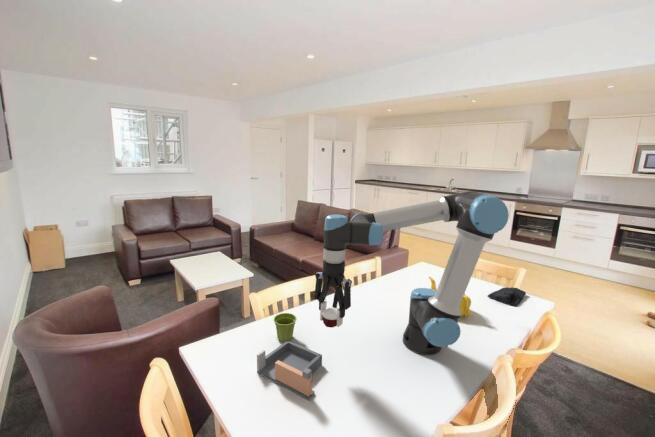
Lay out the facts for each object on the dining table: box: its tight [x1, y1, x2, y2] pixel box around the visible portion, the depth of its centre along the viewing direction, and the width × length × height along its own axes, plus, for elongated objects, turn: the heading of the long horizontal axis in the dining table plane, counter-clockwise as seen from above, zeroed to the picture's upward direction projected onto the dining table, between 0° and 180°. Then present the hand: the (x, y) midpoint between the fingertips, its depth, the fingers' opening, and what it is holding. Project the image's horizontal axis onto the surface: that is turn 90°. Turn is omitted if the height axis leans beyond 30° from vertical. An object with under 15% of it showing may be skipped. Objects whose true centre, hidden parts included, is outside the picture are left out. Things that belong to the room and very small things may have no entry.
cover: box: [275, 360, 313, 397], centre depth 100 cm, size 14×2×8 cm, turn 57°
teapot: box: [428, 276, 472, 318], centre depth 156 cm, size 25×18×14 cm
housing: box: [256, 340, 323, 401], centre depth 108 cm, size 22×16×7 cm
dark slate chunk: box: [487, 286, 527, 307], centre depth 173 cm, size 15×22×5 cm
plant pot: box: [273, 312, 298, 343], centre depth 128 cm, size 9×9×9 cm
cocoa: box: [322, 290, 339, 328], centre depth 110 cm, size 10×6×12 cm, turn 133°
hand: (331, 321), depth 111 cm, fingers closed on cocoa, 6 cm apart
